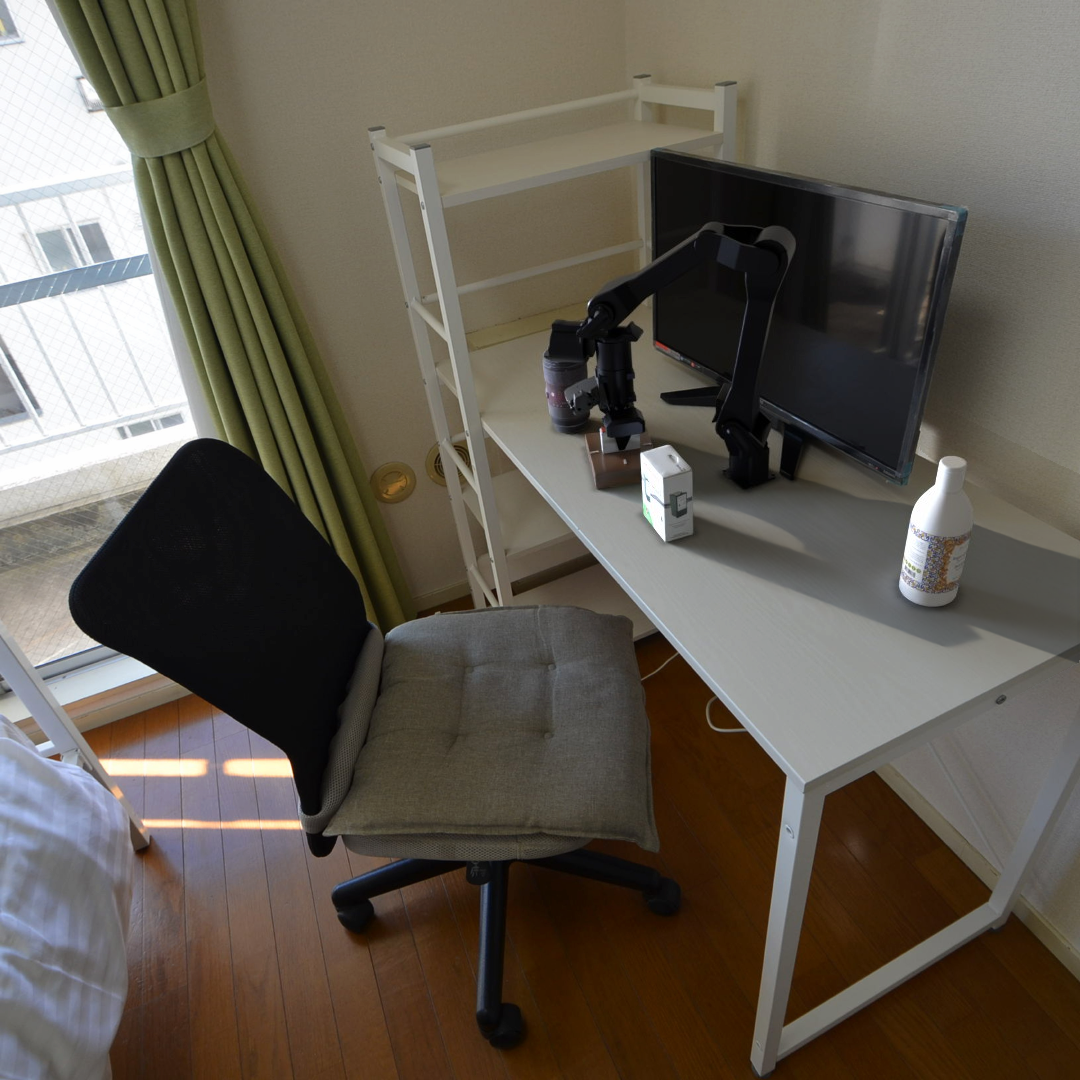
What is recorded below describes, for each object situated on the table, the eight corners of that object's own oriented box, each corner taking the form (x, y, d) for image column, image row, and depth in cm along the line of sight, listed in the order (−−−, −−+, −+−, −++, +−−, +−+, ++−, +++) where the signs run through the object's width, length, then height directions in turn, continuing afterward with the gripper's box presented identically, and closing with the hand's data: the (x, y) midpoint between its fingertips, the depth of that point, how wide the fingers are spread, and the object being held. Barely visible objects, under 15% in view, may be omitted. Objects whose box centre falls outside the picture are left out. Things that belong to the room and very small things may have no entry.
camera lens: (571, 439, 150) (562, 365, 141) (542, 427, 155) (532, 355, 146) (601, 422, 154) (594, 349, 145) (572, 411, 159) (564, 339, 150)
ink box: (642, 514, 128) (638, 450, 121) (670, 505, 129) (668, 442, 122) (664, 543, 121) (662, 477, 114) (694, 534, 122) (693, 468, 115)
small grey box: (638, 443, 140) (637, 421, 138) (640, 448, 139) (639, 426, 136) (601, 448, 140) (599, 427, 138) (603, 453, 139) (601, 432, 136)
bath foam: (934, 616, 102) (963, 484, 90) (887, 590, 107) (908, 462, 95) (967, 591, 105) (999, 461, 93) (919, 567, 110) (944, 440, 98)
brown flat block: (660, 479, 135) (660, 463, 134) (596, 489, 136) (594, 473, 134) (645, 439, 147) (644, 424, 145) (586, 448, 147) (584, 433, 145)
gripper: (559, 348, 138) (569, 428, 147) (571, 396, 123) (581, 482, 132) (624, 338, 137) (629, 419, 147) (643, 385, 122) (648, 472, 132)
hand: (620, 446), depth 139 cm, fingers closed on small grey box, 2 cm apart
